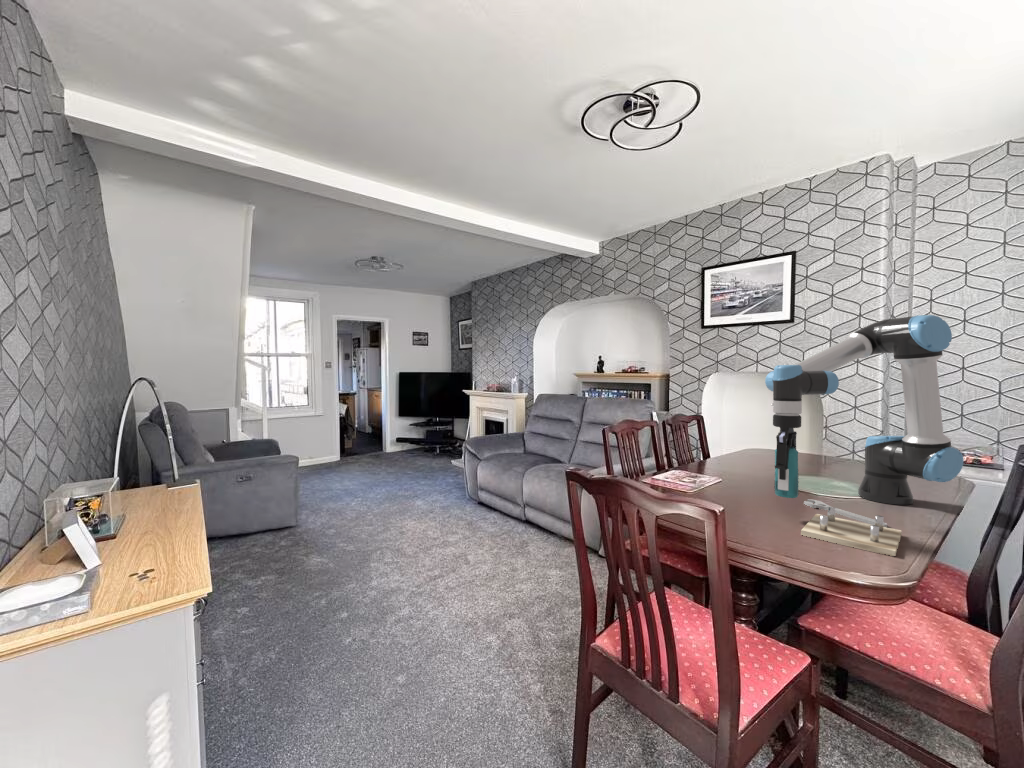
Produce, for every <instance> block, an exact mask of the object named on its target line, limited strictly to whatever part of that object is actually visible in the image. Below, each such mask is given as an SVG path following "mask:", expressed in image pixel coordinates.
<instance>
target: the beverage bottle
mask: <svg viewBox="0 0 1024 768" xmlns="http://www.w3.org/2000/svg"><path fill="white" fill-rule="evenodd" d="M792 444H794V438H793V440H792ZM776 452H777V448H775V449H774V487H773V490H774V494H775V495H776V496H778V497H781V498H787V499H796V498H798V496H799V493H800V492H799V451H798V450H797V448H796V449H795V448H793V447H791V448H790V449H789V459H788V469H789V490H788V491H786V490H780V489H778V468H775V466H776Z"/></svg>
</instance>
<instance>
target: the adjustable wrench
mask: <svg viewBox="0 0 1024 768" xmlns="http://www.w3.org/2000/svg"><path fill="white" fill-rule="evenodd" d="M813 503H814V504H813ZM804 504H805V505H807V506H810V507H809V508H811V507H812V508H811V509H813V508H820V509H819V510H821V509H824V510H823V511H826V510H828V507H832V506H831V505H829V504H827V503H825V502H823V501H821V500H817V499H809V498H807V499H806V500H804V501H803V505H804ZM805 505H804V506H805ZM807 506H806V507H807ZM834 508H835V514H836V513H837V514H836V515H839V514H840V516H842V515H843V517H846V518H849V519H851V520H852V519H853V520H854V521H857V522H861V523H866V524H871V525H875V518H871V517H868V516H864V515H861V514H857V513H854V512H851V511H847V510H843V509H840V508H838V507H834ZM883 527H886V528H888V523H887V522H885V521H883Z"/></svg>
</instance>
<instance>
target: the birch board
mask: <svg viewBox="0 0 1024 768" xmlns="http://www.w3.org/2000/svg"><path fill="white" fill-rule="evenodd" d="M820 515H821V514H819V513H816V514H814V516H812V518H811V519H810V520H809V521H808V522H807V523H806V524H805V526H803V528H802V529H801V530H800V536H801V535H803V536H802V537H806V536H807V538H810V537H811V539H814V538H816V539H815V540H819V539H820V541H823V540H824V541H823V542H827V541H828V543H832V544H836V543H837V544H836V545H841V546H846V547H849V548H853V547H854V549H858V550H862V551H863V550H864V551H867V552H870V553H871V552H872V553H876V554H879V553H880V555H884V554H886V555H885V556H888V555H890V557H892V556H897V553H898V550H897V549H899V546H900V543H901V538H902V534H903V533H902V532H903V531H902V530H901V529H897V528H891V527H887V528H886V527H883V532H880V531H879V542H878V543H876V542H872V541H870V525H871V524H868V523H865V522H862V521H857V520H852V519H851V520H850V519H845V518H841V517H836V516H835V522H831V521H828V531H821V530H820ZM899 542H900V543H899Z"/></svg>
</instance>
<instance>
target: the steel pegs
mask: <svg viewBox="0 0 1024 768" xmlns="http://www.w3.org/2000/svg"><path fill="white" fill-rule="evenodd" d="M835 508H836V507H835ZM835 508H834V507H833V506H831V507H828V511H827V515H825V514H820V530H821V531H828V521H831V522H835V517H836V513H835ZM874 517H875V518H874V520H875V525H870V541H872V542H876V543H878V542H879V531H880V532H883V522H885V521H884V519H885V518H884V516H883V515H879V514H877V515H875V516H874Z"/></svg>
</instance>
